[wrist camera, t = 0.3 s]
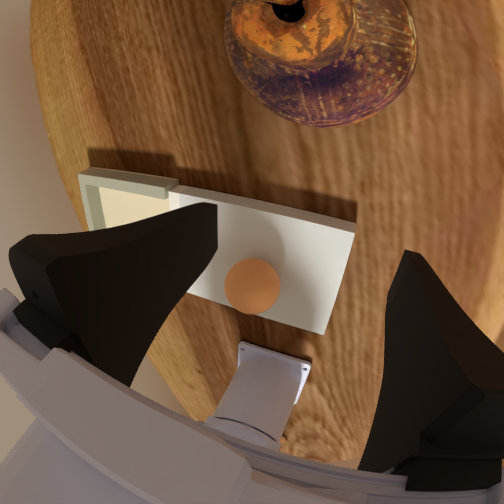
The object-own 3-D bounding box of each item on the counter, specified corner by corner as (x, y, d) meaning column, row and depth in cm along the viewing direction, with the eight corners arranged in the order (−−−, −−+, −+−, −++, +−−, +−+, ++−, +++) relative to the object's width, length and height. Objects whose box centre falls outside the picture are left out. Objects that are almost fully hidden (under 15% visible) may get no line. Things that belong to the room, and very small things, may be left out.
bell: (243, 127, 19) (184, 153, 13) (224, -26, 13) (159, -57, 7) (419, 132, 15) (447, 161, 9) (400, -39, 9) (410, -93, 3)
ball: (283, 296, 23) (267, 332, 20) (236, 283, 24) (215, 315, 21) (290, 255, 21) (272, 290, 18) (238, 242, 22) (213, 272, 19)
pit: (186, 283, 29) (176, 295, 28) (109, 255, 32) (98, 264, 31) (178, 179, 23) (164, 187, 21) (91, 166, 26) (77, 173, 24)
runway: (326, 322, 25) (323, 334, 24) (186, 279, 29) (178, 289, 28) (356, 223, 20) (354, 233, 18) (178, 184, 23) (168, 191, 22)
